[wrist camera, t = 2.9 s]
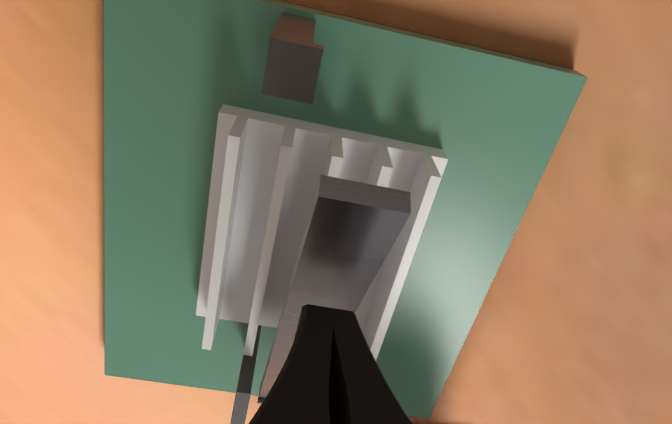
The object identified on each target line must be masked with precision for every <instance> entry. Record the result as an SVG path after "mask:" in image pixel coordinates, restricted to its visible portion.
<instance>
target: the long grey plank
mask: <svg viewBox="0 0 672 424" xmlns="http://www.w3.org/2000/svg"><path fill="white" fill-rule="evenodd" d="M410 214H411V201H410V192H408V191H403V190H398V189H393V188H387V187H382V186H377V185H372V184H367V183H362V182H356V181H351V180H346V179H341V178H336V177H331V176H326V175H321V176H320V179H319V183H318V186H317V190H316V193H315V197H314V200H313V204H312V207H311V211H310V214H309V218H308V221H307V225H306V228H305V232H304V235H303V239H302V242H301V246H300V249H299V253H298V256H297V260H296V263H295V267H294V270H293V274H292V277H291V281H290V284H289V288H288V291H287V295H286V298H285V302H284V305H283V309H282V312H281V316H280V319H279V323H278V326H277V330H276V333H275V337H274V340H273V343H272V347H271V350H270V354H269V357H268V361H267V364H266V368H265V371H264V375H263V378H262V382H261V384H260V389H259V395H258V402H257V403H260V404H262V403H263V401H264V400H265V398H266V396H267V395H268V393H269V391H270V389H271V388H272V386H273V384H274V382H275V380H276V378H277V377H278V375H279V373H280V371H281V369H282V367H283V365H284V363H285V361H286V359H287V357H288V354H289V352H290V350H291V347H292V345H293V342H294V338H295V334H296V330H297V326H298V321H299V317H300V313H301V309H302V306H304V305H306V304H310V305H317V306H323V307H329V308H335V309H342V310H348V311H353V312H354V314H355V312H356V310H357V308H358V307H359V305H360V303H361V301H362V300H363V298H364V296H365V294H366V292H367V291H368V289H369V287H370V285H371V284H372V282H373V280H374V278H375V276H376V275H377V273H378V271H379V269H380V268H381V266H382V264H383V262H384V260H385V259H386V257H387V255H388V253H389V252H390V250H391V248H392V246H393V244H394V243H395V241H396V239H397V237H398V236H399V234H400V232H401V230H402V228H403V227H404V225H405V223H406V221H407V220H408V218H409V216H410Z"/></svg>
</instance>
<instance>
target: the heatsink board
mask: <svg viewBox="0 0 672 424" xmlns="http://www.w3.org/2000/svg"><path fill="white" fill-rule="evenodd" d="M103 4H104V326H105V375H109V376H116V377H124V378H131V379H138V380H146V381H153V382H160V383H168V384H175V385H183V386H190V387H197V388H205V389H212V390H219V391H227V392H234V393H236V395H235V401H234V406H233V412H232V417H231V424H245V419H246V414H247V409H248V404H249V399H250V395H256V396H258V395H259V389H260V384H261V382H262V378H263V375H264V371H265V368H266V364H267V361H268V357H269V354H270V350H271V347H272V343H273V340H274V337H275V333H276V330H277V326H278V323H279V319H280V316H281V312H282V309H283V305H284V302H285V298H286V295H287V291H288V288H289V284H290V281H291V277H292V274H293V270H294V267H295V263H296V260H297V256H298V253H299V249H300V246H301V242H302V239H303V235H304V232H305V228H306V225H307V221H308V218H309V214H310V211H311V207H312V204H313V200H314V197H315V193H316V190H317V186H318V183H319V179H320V176H321V175H326V176H331V177H336V178H341V179H346V180H351V181H356V182H362V183H367V184H372V185H377V186H382V187H387V188H393V189H398V190H403V191H408V192H410V201H411V214H410V216H409V218H408V220H407V221H406V223H405V225H404V227H403V228H402V230H401V232H400V234H399V236H398V237H397V239H396V241H395V243H394V244H393V246H392V248H391V250H390V252H389V253H388V255H387V257H386V259H385V260H384V262H383V264H382V266H381V268H380V269H379V271H378V273H377V275H376V276H375V278H374V280H373V282H372V284H371V285H370V287H369V289H368V291H367V292H366V294H365V296H364V298H363V300H362V301H361V303H360V305H359V307H358V308H357V310H356V312H355V315H356V317H357V320H358V323H359V325H360V327H361V330H362V332H363V335H364V337H365V339H366V341H367V344H368V346H369V348H370V350H371V352H372V354H373V356H374V359H375V361H376V363H377V364H378V366H379V368H380V370H381V372H382V374H383V376H384V378H385V380H386V382H387V383H388V385H389V387H390V389H391V391H392V392H393V394H394V396H395V397H396V399H397V401H398V402H399V404H400V406H401V407H402V409H403V411H404V412H405V414H406V415H407V416H410V417H417V418H425V419H429V417H430V415H431V412H432V410H433V408H434V406H435V404H436V402H437V400H438V397H439V395H440V393H441V391H442V389H443V387H444V385H445V382H446V380H447V378H448V376H449V374H450V372H451V370H452V367H453V365H454V363H455V361H456V359H457V357H458V355H459V352H460V350H461V348H462V346H463V344H464V342H465V340H466V337H467V335H468V333H469V331H470V329H471V327H472V324H473V322H474V320H475V318H476V316H477V314H478V312H479V309H480V307H481V305H482V303H483V301H484V299H485V297H486V294H487V292H488V290H489V288H490V286H491V284H492V282H493V279H494V277H495V275H496V273H497V271H498V269H499V267H500V264H501V262H502V260H503V258H504V256H505V254H506V252H507V249H508V247H509V245H510V243H511V241H512V239H513V237H514V234H515V232H516V230H517V228H518V226H519V224H520V222H521V219H522V217H523V215H524V213H525V211H526V209H527V207H528V204H529V202H530V200H531V198H532V196H533V194H534V192H535V189H536V187H537V185H538V183H539V181H540V179H541V177H542V174H543V172H544V170H545V168H546V166H547V164H548V162H549V159H550V157H551V155H552V153H553V151H554V149H555V146H556V144H557V142H558V140H559V138H560V136H561V134H562V131H563V129H564V127H565V125H566V123H567V121H568V119H569V116H570V114H571V112H572V110H573V108H574V106H575V104H576V101H577V99H578V97H579V95H580V93H581V91H582V89H583V86H584V84H585V82H586V80H587V78H588V77H586V76H584V75H582V74H580V73H579V72H577V71H575V70H572V69H568V68H564V67H560V66H555V65H551V64H547V63H542V62H538V61H534V60H530V59H525V58H521V57H517V56H513V55H508V54H504V53H500V52H496V51H491V50H487V49H483V48H479V47H474V46H470V45H466V44H462V43H457V42H453V41H449V40H445V39H440V38H436V37H432V36H428V35H423V34H419V33H415V32H411V31H406V30H402V29H398V28H394V27H389V26H385V25H381V24H377V23H372V22H368V21H364V20H360V19H355V18H351V17H347V16H343V15H338V14H334V13H330V12H326V11H321V10H317V9H313V8H309V7H304V6H300V5H296V4H292V3H287V2H283V1H279V0H103Z"/></svg>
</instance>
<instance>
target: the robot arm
mask: <svg viewBox="0 0 672 424" xmlns="http://www.w3.org/2000/svg"><path fill="white" fill-rule="evenodd" d="M249 424H412V423H411V421H410V420H409V418H408V417H407V415H406V414H405V412H404V411H403V409H402V407H401V406H400V404H399V402H398V401H397V399H396V397H395V396H394V394H393V392H392V391H391V389H390V387H389V385H388V383H387V382H386V380H385V378H384V376H383V374H382V372H381V370H380V368H379V366H378V364H377V363H376V361H375V359H374V356H373V354H372V352H371V350H370V348H369V346H368V344H367V341H366V339H365V337H364V335H363V332H362V330H361V327H360V325H359V323H358V320H357V317H356V315H355V314H354V312H353V311H348V310H342V309H335V308H329V307H323V306H317V305H310V304H306V305H304V306H302V309H301V313H300V317H299V321H298V326H297V330H296V334H295V338H294V342H293V345H292V347H291V350H290V352H289V354H288V357H287V359H286V361H285V363H284V365H283V367H282V369H281V371H280V373H279V375H278V377H277V378H276V380H275V382H274V384H273V386H272V388H271V389H270V391H269V393H268V395H267V396H266V398H265V400H264V401H263V403H262V404H261V406H260V407H259V409H258V411H257V412H256V414H255V415H254V417H253V418H252V420H251V421H250V422H249Z"/></svg>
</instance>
